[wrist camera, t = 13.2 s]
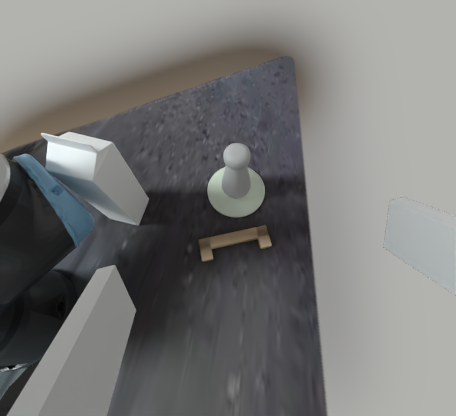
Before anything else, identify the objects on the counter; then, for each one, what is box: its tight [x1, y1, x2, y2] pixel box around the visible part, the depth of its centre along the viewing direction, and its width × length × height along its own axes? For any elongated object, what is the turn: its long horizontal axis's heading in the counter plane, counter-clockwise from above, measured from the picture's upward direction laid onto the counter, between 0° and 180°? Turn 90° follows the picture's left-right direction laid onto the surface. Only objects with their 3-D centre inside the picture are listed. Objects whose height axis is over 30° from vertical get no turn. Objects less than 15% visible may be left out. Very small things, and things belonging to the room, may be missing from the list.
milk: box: [41, 132, 149, 226], centre depth 35 cm, size 6×6×22 cm
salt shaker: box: [222, 143, 251, 199], centre depth 40 cm, size 6×6×13 cm
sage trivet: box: [207, 167, 265, 218], centre depth 46 cm, size 12×12×1 cm
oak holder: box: [199, 225, 272, 262], centre depth 41 cm, size 4×13×2 cm, turn 102°
